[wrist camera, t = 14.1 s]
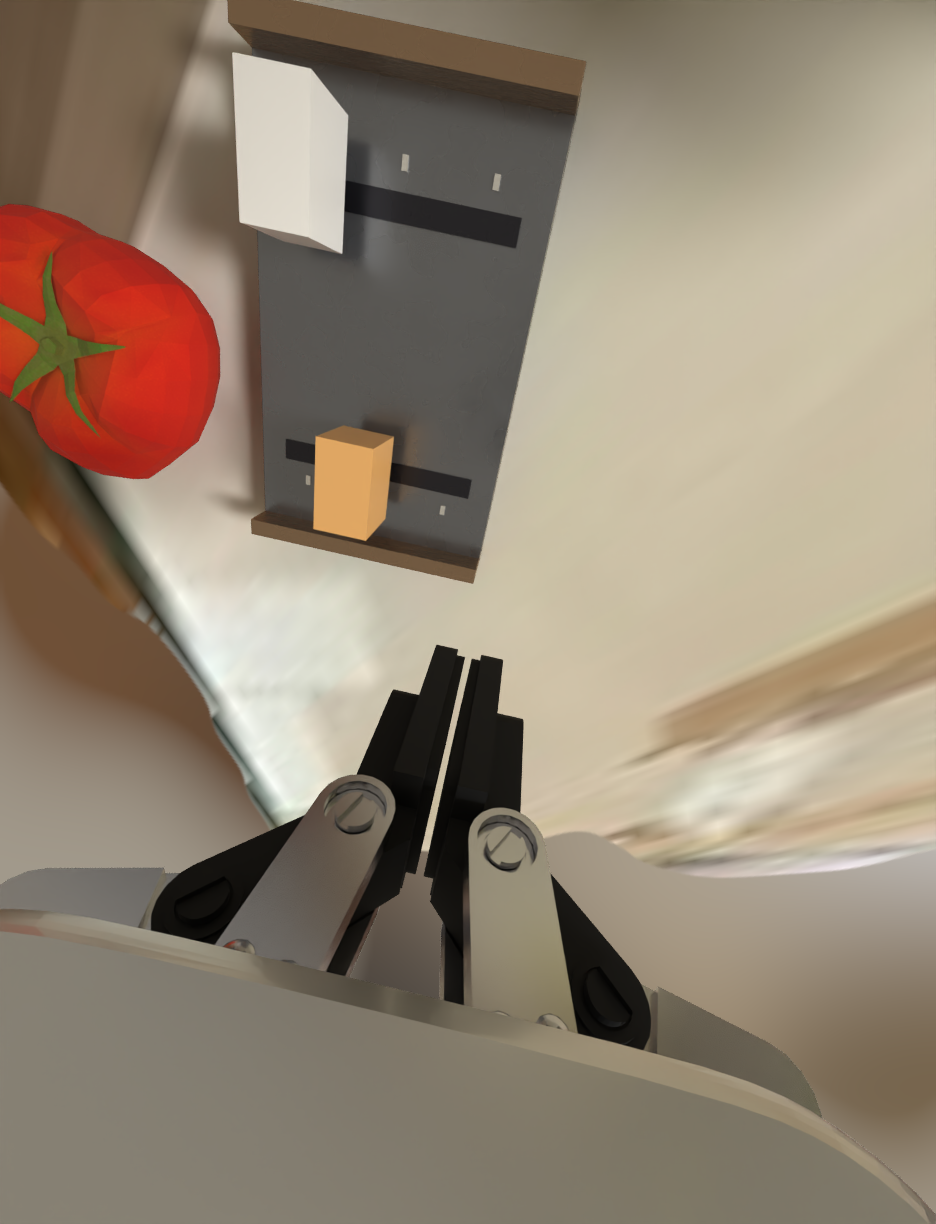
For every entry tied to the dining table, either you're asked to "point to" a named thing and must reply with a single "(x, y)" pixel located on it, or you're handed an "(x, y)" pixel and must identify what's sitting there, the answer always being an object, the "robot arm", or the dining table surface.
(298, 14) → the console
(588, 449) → the dining table surface
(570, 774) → the dining table surface
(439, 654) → the robot arm
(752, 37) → the dining table surface
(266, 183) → the block
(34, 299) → the tomato
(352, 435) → the block
